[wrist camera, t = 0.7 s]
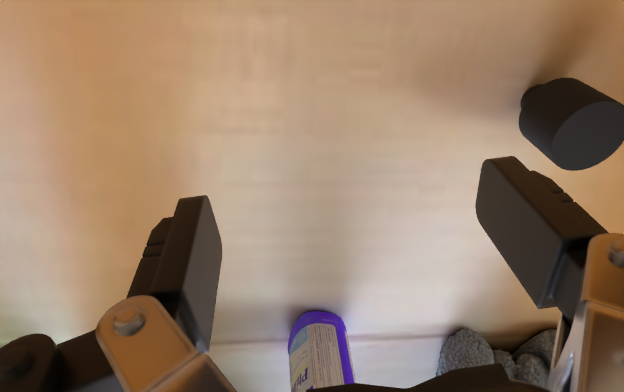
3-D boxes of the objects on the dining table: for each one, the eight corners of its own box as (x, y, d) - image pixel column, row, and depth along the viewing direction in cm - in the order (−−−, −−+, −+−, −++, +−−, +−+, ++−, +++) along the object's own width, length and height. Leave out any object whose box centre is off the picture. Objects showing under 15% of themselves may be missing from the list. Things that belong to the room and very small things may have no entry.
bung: (507, 73, 29) (558, 108, 24) (575, 61, 28) (641, 93, 23) (500, 134, 31) (544, 176, 26) (561, 122, 31) (618, 163, 26)
